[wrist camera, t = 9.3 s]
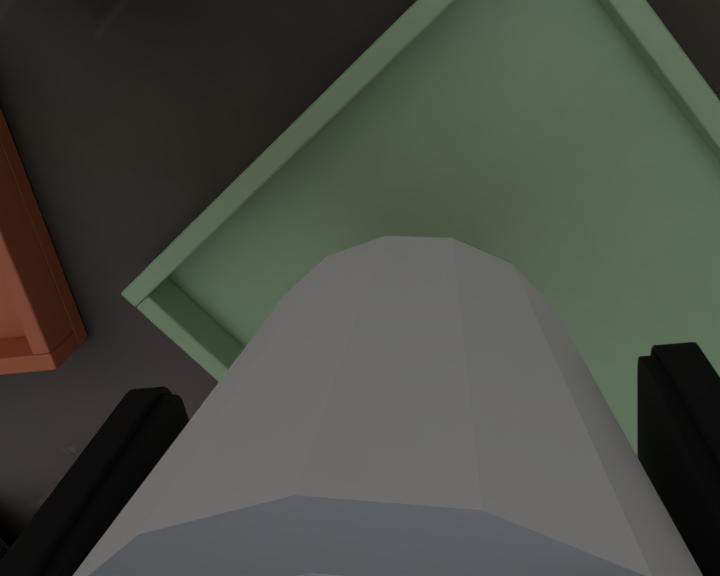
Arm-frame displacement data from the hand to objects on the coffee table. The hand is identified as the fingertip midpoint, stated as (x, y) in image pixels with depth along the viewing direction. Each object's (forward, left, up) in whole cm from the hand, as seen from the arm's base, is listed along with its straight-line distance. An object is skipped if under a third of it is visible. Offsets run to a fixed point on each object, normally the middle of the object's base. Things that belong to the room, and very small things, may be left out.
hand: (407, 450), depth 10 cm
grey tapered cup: (0, 0, -2) cm, 2 cm away
